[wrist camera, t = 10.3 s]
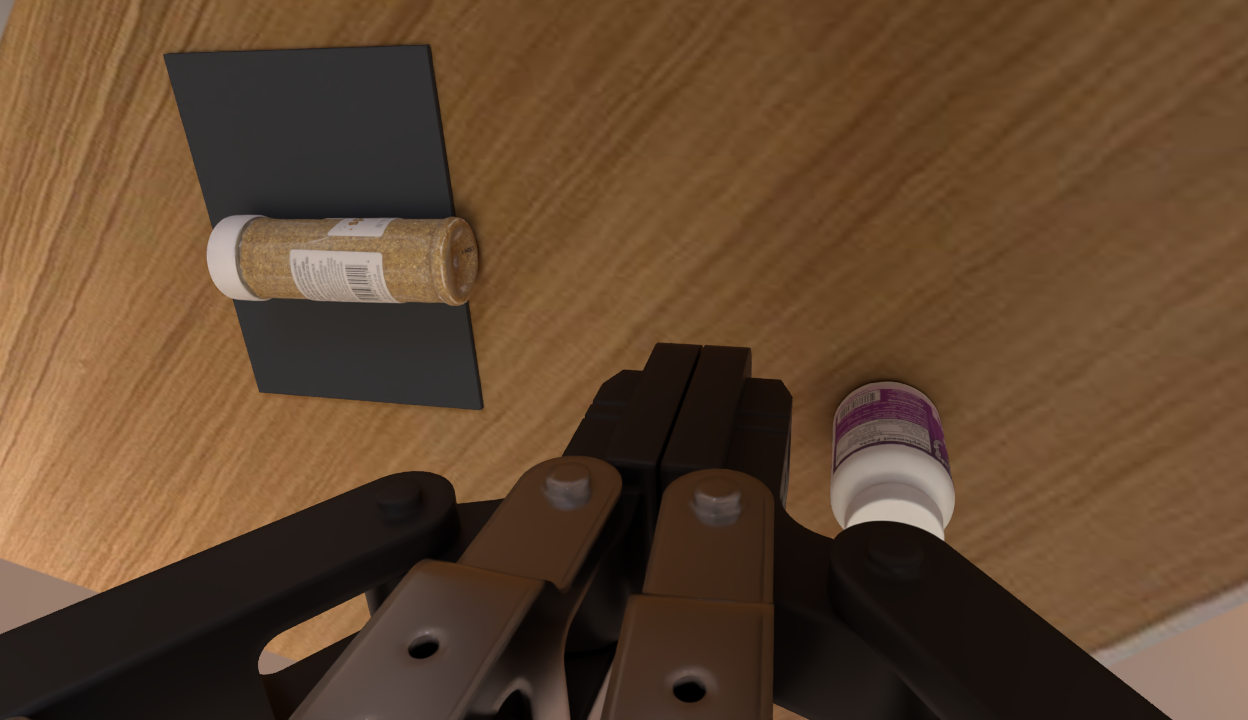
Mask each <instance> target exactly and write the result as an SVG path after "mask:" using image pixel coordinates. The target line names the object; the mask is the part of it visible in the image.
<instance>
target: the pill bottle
mask: <svg viewBox="0 0 1248 720" xmlns="http://www.w3.org/2000/svg"><path fill="white" fill-rule="evenodd" d="M830 502H831V507H832V510H833V513H834V515H835V518H836V520H837V521H838V523H839V524H840V526H841V527H842V528H843V529H844V530H845V529H846V528H848V527H850V526H853V525H855V524H859V523H862V522H868V521H895V522H901V523H906V524H910V525H913V526H916V527H919V528H921V529H924V530H926V531H928V532H930V533H932V534H934V535H936V536H937V537H939V538H940V539H941V540H943V541H944V529H945V527H946V526H947V524H948V523H949V521H950V519H951V516H952V514H953V510H954V505H955V494H954V485H953V481H952V477H951V471H950V466H949V460H948V455H947V449H946V444H945V439H944V433H943V428H942V424H941V420H940V417H939V414H938V411H937V409H936V407H935V406H934V405H933V403H932V402H931V401H930V399H928V398H927V397H926V396H925V395H924V394H923V393H921V392H920V391H918V390H917V389H915V388H913V387H910V386H908V385H905V384H902V383H898V382H890V381H889V382H878V383H870V384H867V385H864V386H862V387H860V388H858V389H856V390H855V391H853V392H852V393H850V394H849V395H848V396H847V397H846V398H845V399H844V400H843V401H842V403H841V404H840V405H839V407H838V409H837V411H836V413H835V416H834V421H833V436H832V464H831V482H830Z"/></svg>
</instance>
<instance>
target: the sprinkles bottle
mask: <svg viewBox="0 0 1248 720" xmlns="http://www.w3.org/2000/svg"><path fill="white" fill-rule="evenodd" d="M207 263H208V269H209V272H210V275H211V277H212V280H213V281H214V283H215V285H216V286H217V287H218V289H219V290H220V291H221V292H222V293H223V294H225V295H226V296H228V297H230V298H233V299H238V300H252V301H265V300H269V299H271V298H288V299H293V298H294V299H311V300H315V301H340V302H374V303H405V302H425V303H446V304H448V305H450V306H459V305H462V304H464V303H466V302H467V300H468V299H469V297H470V296H471V294H472V291H473V288H474V285H475V281H476V276H477V270H478V249H477V244H476V240H475V237H474V234H473V231H472V229H471V228H470V226H469V225H468V223H467V222H466V221H465V220H464V219H461V218H459V217H448V218H445V219H402V218H325V219H322V220H318V219H273V218H269V217H266V216H262V215H234V216H230V217H227V218H224V219H223V220H221V221H220V222H219V223H218V224H217V225H216V227H215V228H214V230H213V231H212V233H211V236H210V238H209V242H208V247H207Z"/></svg>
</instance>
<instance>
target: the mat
mask: <svg viewBox="0 0 1248 720" xmlns="http://www.w3.org/2000/svg"><path fill="white" fill-rule="evenodd" d="M163 56H164V60H165V63H166V67H167V70H168V74H169V77H170V81H171V84H172V88H173V91H174V95H175V98H176V102H177V105H178V109H179V112H180V116H181V119H182V123H183V126H184V130H185V133H186V137H187V140H188V144H189V147H190V151H191V154H192V158H193V161H194V165H195V168H196V172H197V175H198V179H199V182H200V186H201V189H202V193H203V196H204V200H205V203H206V207H207V210H208V214H209V217H210V221H211V224H212V228H213V230H214V228H215V227H216V225H217V224H218V223H219V222H220V221H221V220H223V219H224V218H227V217H230V216H234V215H262V216H266V217H269V218H273V219H318V220H322V219H325V218H402V219H445V218H448V217H455V211H454V205H453V198H452V191H451V184H450V178H449V171H448V164H447V158H446V151H445V144H444V137H443V131H442V124H441V117H440V111H439V104H438V97H437V90H436V84H435V77H434V70H433V63H432V57H431V50H430V45H404V46H374V47H345V48H315V49H285V50H256V51H226V52H196V53H168V54H164V55H163ZM233 302H234V305H235V309H236V312H237V316H238V319H239V323H240V326H241V330H242V333H243V337H244V340H245V344H246V347H247V351H248V354H249V358H250V361H251V365H252V368H253V372H254V375H255V379H256V382H257V386H258V389H259V392H262V393H275V394H287V395H299V396H312V397H324V398H336V399H349V400H361V401H373V402H386V403H398V404H410V405H423V406H435V407H447V408H460V409H472V410H482V409H483V407H484V406H483V399H482V393H481V386H480V379H479V373H478V366H477V359H476V352H475V346H474V339H473V332H472V326H471V319H470V312H469V305H468V300H467V302H466V303H464V304H462V305H459V306H450V305H448V304H446V303H425V302H405V303H374V302H340V301H315V300H311V299H294V298H293V299H288V298H271V299H269V300H265V301H252V300H238V299H233Z"/></svg>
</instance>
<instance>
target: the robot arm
mask: <svg viewBox="0 0 1248 720" xmlns="http://www.w3.org/2000/svg"><path fill="white" fill-rule="evenodd" d="M751 368H752V357H751V348H748V347H730V346H713V345H705V346H704V348H703V346H702V345H693V344H675V343H656V345H655V347H654V349H653V351H652V353H651V355H650V357H649V359H648V361H647V363H646V365H645V367H644V369H643V371H637V370H622V371H621V372H619V373H618V374H616V375H615V376H613V377H612V378H610V379H609V380H607V381H606V382H604V383H603V384H602V386H601V387H600V389H599V391H598V393H597V395H596V396H595V398H594V400H593V404H591V405H590V407H589V409H588V411H587V412H586V414H585V418H583V419H582V421H581V423H580V425H579V427H578V428H577V430H576V432H575V434H574V435H573V437H572V439H571V441H570V443H569V444H568V446H567V448H566V450H565V451H564V453H563V455H562V457H558V458H553V459H550V460H547V461H544V462H541V463H539V464H537V465H535V466H534V467H532V468H530V469H529V470H528V471H526V472H525V473H524V474H523V475H522V476H521V477H520V479H519V480H518V481H517V483H516V484H515V485H514V487H513V488H512V489H511V491H510V492H509V493H508V495H507V496H506V497H505V498H503V499H497V500H489V501H479V502H470V503H460V504H457V502H456V496H455V490H454V488H453V485H452V484H451V483H450V482H449V480H447V479H446V478H444V477H442V476H440V475H438V474H434V473H431V472H424V471H410V472H402V473H396V474H392V475H388V476H385V477H382V478H380V479H377V480H375V481H372V482H370V483H367V484H365V485H362V486H360V487H358V488H355V489H353V490H350V491H348V492H345V493H343V494H341V495H338V496H336V497H333V498H331V499H328V500H326V501H324V502H321V503H319V504H316V505H314V506H311V507H309V508H307V509H304V510H302V511H299V512H297V513H294V514H292V515H289V516H287V517H285V518H282V519H280V520H277V521H275V522H272V523H270V524H268V525H265V526H263V527H260V528H258V529H255V530H253V531H251V532H248V533H246V534H243V535H241V536H238V537H236V538H234V539H231V540H229V541H226V542H224V543H221V544H219V545H216V546H214V547H212V548H209V549H207V550H204V551H202V552H199V553H197V554H195V555H192V556H190V557H187V558H185V559H182V560H180V561H178V562H175V563H173V564H170V565H168V566H165V567H163V568H160V569H158V570H156V571H153V572H151V573H148V574H146V575H143V576H141V577H139V578H136V579H134V580H131V581H129V582H126V583H124V584H122V585H119V586H117V587H114V588H112V589H109V590H107V591H105V592H102V593H100V594H97V595H95V596H93V597H90V598H88V599H85V600H83V601H80V602H78V603H75V604H73V605H70V606H68V607H66V608H63V609H61V610H58V611H56V612H53V613H51V614H49V615H46V616H44V617H41V618H39V619H37V620H34V621H32V622H29V623H27V624H24V625H22V626H19V627H17V628H15V629H12V630H10V631H7V632H5V633H3V634H0V720H773V703H774V704H776V705H779V706H781V707H783V708H785V709H787V710H789V711H792V712H794V713H796V714H798V715H800V716H803V717H805V718H807V719H809V720H1172V719H1171V718H1169V717H1168V716H1167V715H1165V714H1164V713H1163V712H1162V711H1161V710H1159V709H1158V708H1157V707H1155V706H1154V705H1153V704H1151V703H1150V702H1149V701H1148V700H1146V699H1145V698H1144V697H1143V696H1141V695H1140V694H1139V693H1137V692H1136V691H1135V690H1134V689H1132V688H1131V687H1130V686H1128V685H1127V684H1126V683H1124V682H1123V681H1122V680H1121V679H1120V678H1118V677H1117V676H1116V675H1114V674H1113V673H1112V672H1111V671H1109V670H1108V669H1107V668H1105V667H1104V666H1103V665H1102V664H1100V663H1099V662H1098V661H1097V660H1095V659H1094V658H1093V657H1091V656H1090V655H1089V654H1088V653H1086V652H1085V651H1084V650H1082V649H1081V648H1080V647H1079V646H1077V645H1076V644H1075V643H1073V642H1072V641H1071V640H1070V639H1068V638H1067V637H1066V636H1065V635H1063V634H1062V633H1061V632H1059V631H1058V630H1057V629H1056V628H1054V627H1053V626H1052V625H1050V624H1049V623H1048V622H1047V621H1045V620H1044V619H1043V618H1041V617H1040V616H1039V615H1038V614H1036V613H1035V612H1034V611H1033V610H1031V609H1030V608H1029V607H1027V606H1026V605H1025V604H1024V603H1022V602H1021V601H1020V600H1018V599H1017V598H1016V597H1015V596H1013V595H1012V594H1011V593H1010V592H1008V591H1007V590H1006V589H1004V588H1003V587H1002V586H1001V585H999V584H998V583H997V582H995V581H994V580H993V579H992V578H990V577H989V576H988V575H986V574H985V573H984V572H983V571H981V570H980V569H979V568H978V567H976V566H975V565H974V564H972V563H971V562H970V561H969V560H967V559H966V558H965V557H963V556H962V555H961V554H960V553H958V552H957V551H956V550H954V549H953V548H952V547H951V546H949V545H948V544H947V543H946V542H944V541H943V540H941V539H940V538H939V537H937V536H936V535H934V534H932V533H930V532H928V531H926V530H924V529H921V528H919V527H916V526H913V525H910V524H906V523H901V522H895V521H868V522H862V523H859V524H855V525H853V526H850V527H848V528H846V529H845V530H843V531H842V532H840V533H839V534H838V535H837V536H836V537H835V539H832V538H829V537H826V536H823V535H820V534H818V533H815V532H813V531H811V530H809V529H807V528H805V527H803V526H802V525H800V524H799V523H797V522H796V521H795V520H794V519H793V518H792V517H790V516H789V514H788V513H787V512H786V511H785V508H786V499H787V491H788V483H789V468H790V445H791V421H792V398H793V397H792V395H791V394H790V392H789V391H788V389H787V388H786V386H785V385H784V383H783V382H782V380H776V379H761V378H751ZM364 592H365V595H366V599H367V603H368V607H369V611H370V615H371V618H370V620H369V621H368V622H367V623H366V625H365V626H364V627H363V628H362V629H361V630H360V631H358V632H356V633H354V634H352V635H350V636H348V637H346V638H344V639H342V640H340V641H338V642H336V643H334V644H332V645H330V646H328V647H326V648H324V649H322V650H320V651H318V652H316V653H314V654H312V655H310V656H308V657H306V658H305V659H303V660H301V661H299V662H297V663H295V664H293V665H291V666H289V667H287V668H285V669H283V670H281V671H278V672H276V673H273V674H267V675H262V674H259V670H258V660H259V657H260V654H261V652H262V651H263V649H264V647H265V646H266V645H267V644H268V643H269V642H270V641H271V640H272V639H273V638H274V637H276V636H277V635H278V634H280V633H282V632H284V631H286V630H288V629H290V628H292V627H294V626H296V625H298V624H300V623H302V622H304V621H306V620H309V619H311V618H313V617H315V616H317V615H319V614H321V613H323V612H325V611H327V610H329V609H331V608H333V607H335V606H337V605H340V604H342V603H344V602H346V601H348V600H350V599H352V598H354V597H356V596H358V595H360V594H362V593H364Z"/></svg>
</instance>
